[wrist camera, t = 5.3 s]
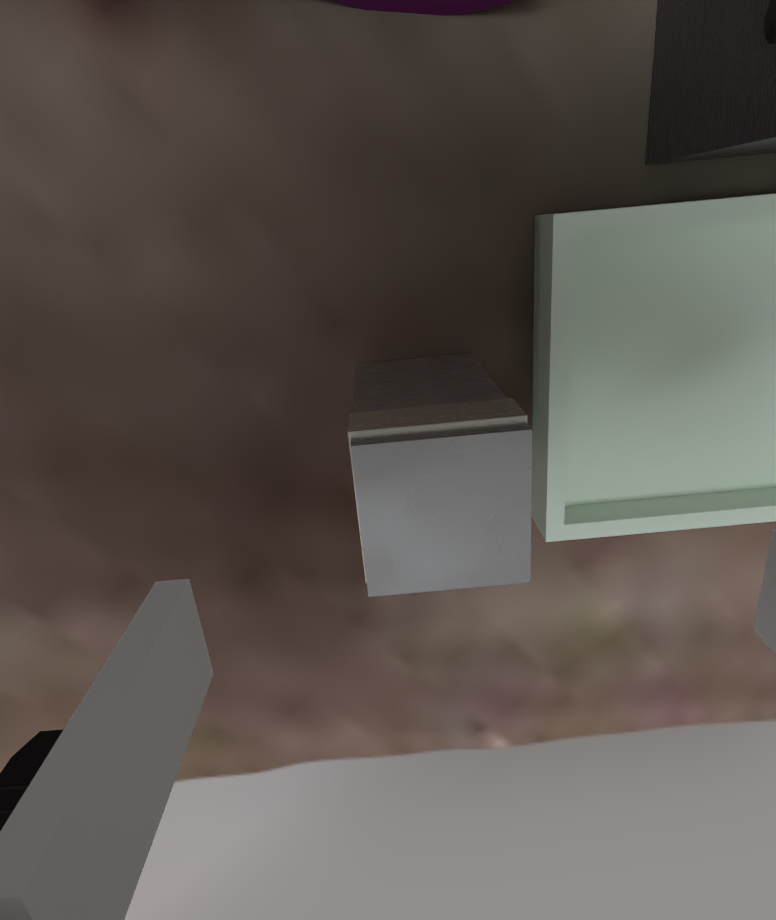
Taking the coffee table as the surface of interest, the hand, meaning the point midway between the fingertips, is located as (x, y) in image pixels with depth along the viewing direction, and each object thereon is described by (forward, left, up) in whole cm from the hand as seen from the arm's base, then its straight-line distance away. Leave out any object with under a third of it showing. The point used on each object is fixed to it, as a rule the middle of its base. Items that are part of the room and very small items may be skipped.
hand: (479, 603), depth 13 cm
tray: (+12, +1, -14) cm, 18 cm away
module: (0, 0, -14) cm, 14 cm away
